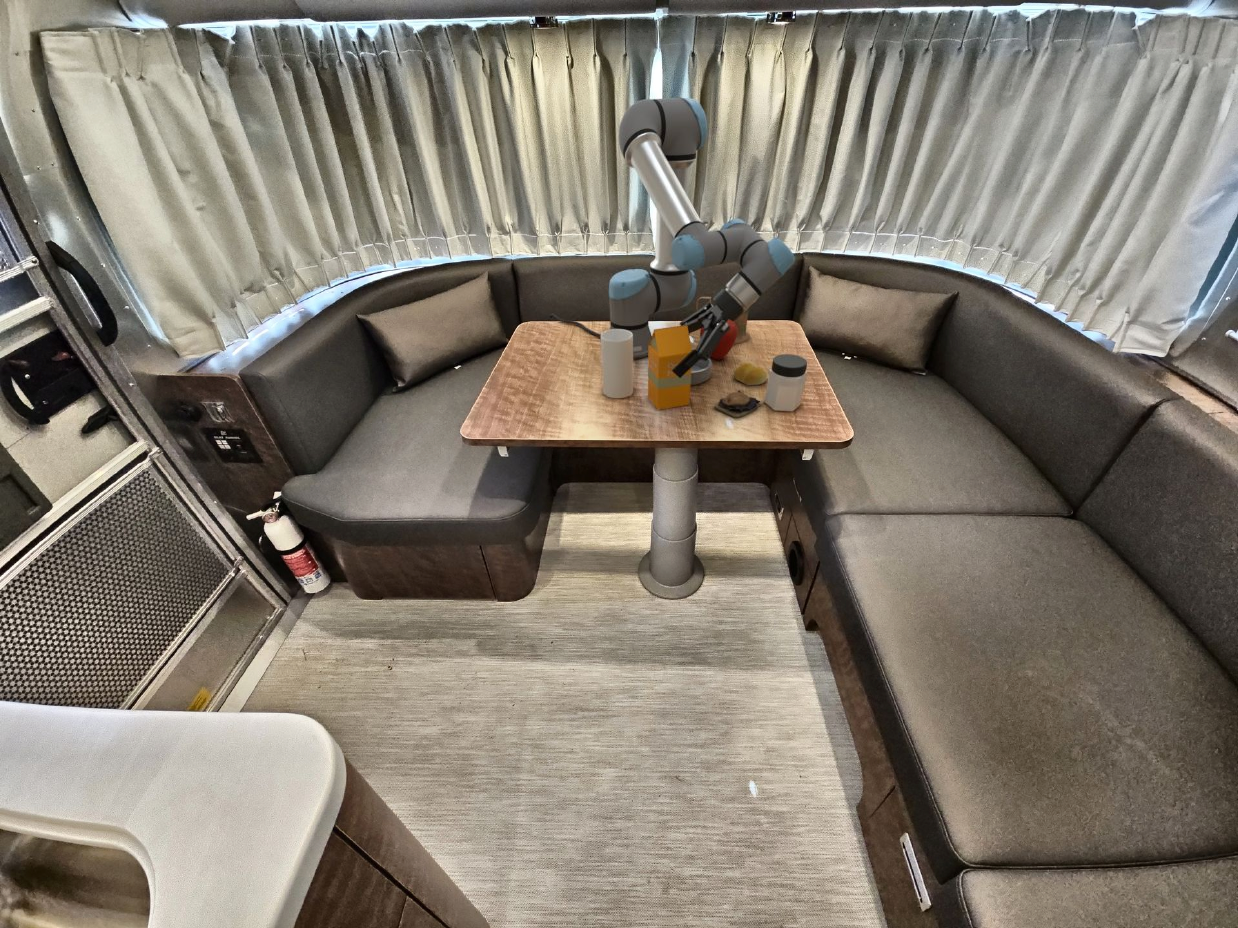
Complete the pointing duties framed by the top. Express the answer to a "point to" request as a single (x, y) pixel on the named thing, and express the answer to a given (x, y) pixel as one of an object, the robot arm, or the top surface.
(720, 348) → the apple
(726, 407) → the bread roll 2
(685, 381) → the orange juice
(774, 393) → the jar
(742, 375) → the bread roll
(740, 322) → the mug
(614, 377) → the cup
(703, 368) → the pan
